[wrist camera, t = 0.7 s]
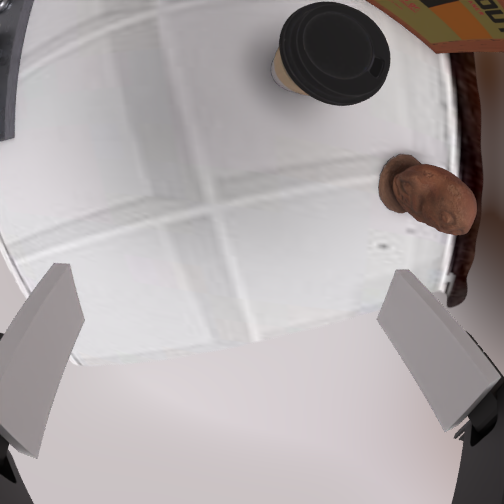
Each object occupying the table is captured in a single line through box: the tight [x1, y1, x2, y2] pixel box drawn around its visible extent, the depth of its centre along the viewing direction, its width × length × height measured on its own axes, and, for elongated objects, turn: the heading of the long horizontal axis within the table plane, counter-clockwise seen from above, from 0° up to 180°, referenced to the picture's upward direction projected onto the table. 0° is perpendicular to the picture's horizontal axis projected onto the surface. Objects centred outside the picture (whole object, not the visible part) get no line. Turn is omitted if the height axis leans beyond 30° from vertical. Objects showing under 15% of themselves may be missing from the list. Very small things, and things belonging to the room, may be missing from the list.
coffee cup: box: [271, 2, 390, 106], centre depth 23 cm, size 9×9×15 cm
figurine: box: [378, 154, 477, 235], centre depth 32 cm, size 9×10×15 cm
